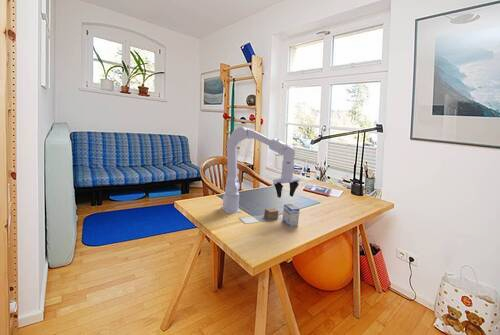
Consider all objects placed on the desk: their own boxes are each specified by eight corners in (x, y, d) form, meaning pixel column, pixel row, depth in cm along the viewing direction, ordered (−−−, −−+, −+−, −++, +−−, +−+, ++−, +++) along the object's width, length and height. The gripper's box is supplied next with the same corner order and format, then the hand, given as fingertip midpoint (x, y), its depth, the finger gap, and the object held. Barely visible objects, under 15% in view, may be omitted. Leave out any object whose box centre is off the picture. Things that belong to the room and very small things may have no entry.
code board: (237, 218, 133) (237, 218, 133) (274, 214, 143) (274, 213, 143) (244, 224, 126) (244, 224, 126) (282, 219, 136) (282, 219, 136)
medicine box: (282, 221, 134) (283, 204, 132) (290, 220, 136) (291, 203, 134) (289, 227, 127) (291, 209, 125) (298, 226, 128) (300, 208, 127)
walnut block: (264, 216, 138) (264, 208, 138) (272, 214, 141) (273, 207, 140) (269, 219, 134) (269, 211, 133) (277, 218, 136) (278, 210, 135)
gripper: (279, 172, 130) (277, 200, 132) (304, 171, 136) (301, 197, 138) (271, 169, 136) (269, 196, 138) (295, 168, 142) (293, 194, 145)
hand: (285, 196), depth 139 cm, fingers open, 7 cm apart
